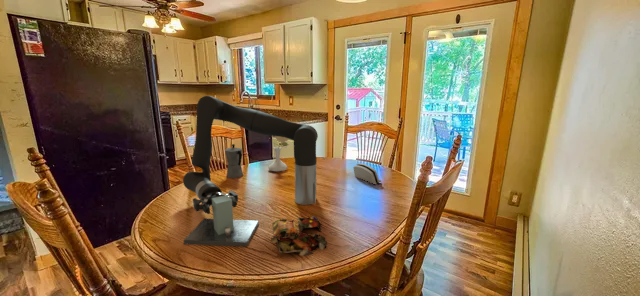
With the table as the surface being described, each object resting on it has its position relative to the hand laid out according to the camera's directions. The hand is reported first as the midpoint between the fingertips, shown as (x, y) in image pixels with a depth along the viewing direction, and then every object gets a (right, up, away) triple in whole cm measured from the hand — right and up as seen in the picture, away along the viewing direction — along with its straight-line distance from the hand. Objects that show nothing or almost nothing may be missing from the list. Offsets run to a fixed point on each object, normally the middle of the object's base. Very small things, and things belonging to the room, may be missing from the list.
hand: (222, 207), depth 88 cm
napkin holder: (+58, +2, +58) cm, 82 cm away
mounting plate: (0, -9, +2) cm, 10 cm away
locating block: (0, -8, +2) cm, 8 cm away
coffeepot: (-15, +4, +60) cm, 62 cm away
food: (+25, -11, +1) cm, 27 cm away
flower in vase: (+8, +6, +72) cm, 73 cm away
